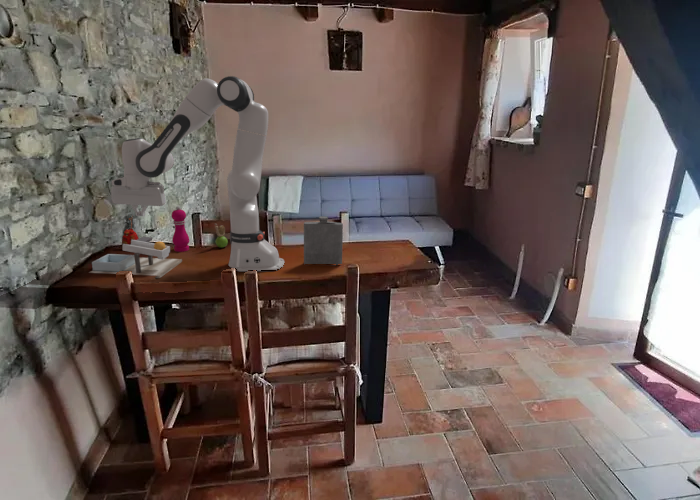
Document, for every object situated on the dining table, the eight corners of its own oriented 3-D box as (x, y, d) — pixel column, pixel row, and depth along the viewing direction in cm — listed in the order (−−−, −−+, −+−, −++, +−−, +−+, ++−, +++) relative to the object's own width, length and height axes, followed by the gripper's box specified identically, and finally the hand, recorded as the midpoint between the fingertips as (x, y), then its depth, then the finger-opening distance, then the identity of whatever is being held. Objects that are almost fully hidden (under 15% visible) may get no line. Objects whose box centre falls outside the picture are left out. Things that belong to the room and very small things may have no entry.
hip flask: (303, 264, 184) (303, 217, 179) (304, 261, 188) (304, 215, 183) (341, 265, 185) (343, 218, 179) (342, 262, 188) (343, 216, 183)
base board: (182, 261, 184) (180, 241, 182) (159, 278, 165) (157, 256, 163) (118, 258, 186) (116, 239, 183) (89, 275, 166) (85, 253, 164)
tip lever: (180, 247, 183) (181, 239, 182) (161, 260, 167) (161, 251, 166) (143, 241, 183) (143, 233, 182) (120, 253, 167) (120, 244, 166)
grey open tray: (135, 263, 177) (134, 255, 176) (120, 272, 167) (119, 263, 166) (109, 262, 178) (108, 254, 177) (93, 271, 168) (91, 262, 167)
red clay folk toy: (118, 249, 198) (114, 216, 194) (132, 246, 204) (129, 214, 200) (130, 252, 194) (126, 219, 190) (144, 248, 200) (140, 216, 196)
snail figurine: (212, 248, 203) (210, 223, 200) (220, 245, 209) (219, 220, 205) (221, 250, 201) (220, 224, 198) (230, 246, 207) (229, 221, 204)
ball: (166, 251, 172) (167, 241, 170) (161, 254, 168) (162, 244, 167) (156, 248, 172) (157, 239, 170) (151, 251, 168) (152, 241, 167)
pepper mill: (184, 252, 196) (180, 208, 190) (169, 251, 197) (165, 207, 192) (193, 248, 203) (190, 205, 197) (179, 247, 204) (175, 204, 198)
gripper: (167, 181, 175) (169, 215, 179) (116, 178, 176) (120, 213, 180) (159, 183, 169) (162, 219, 173) (107, 180, 170) (111, 216, 174)
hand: (140, 216), depth 177 cm, fingers closed
